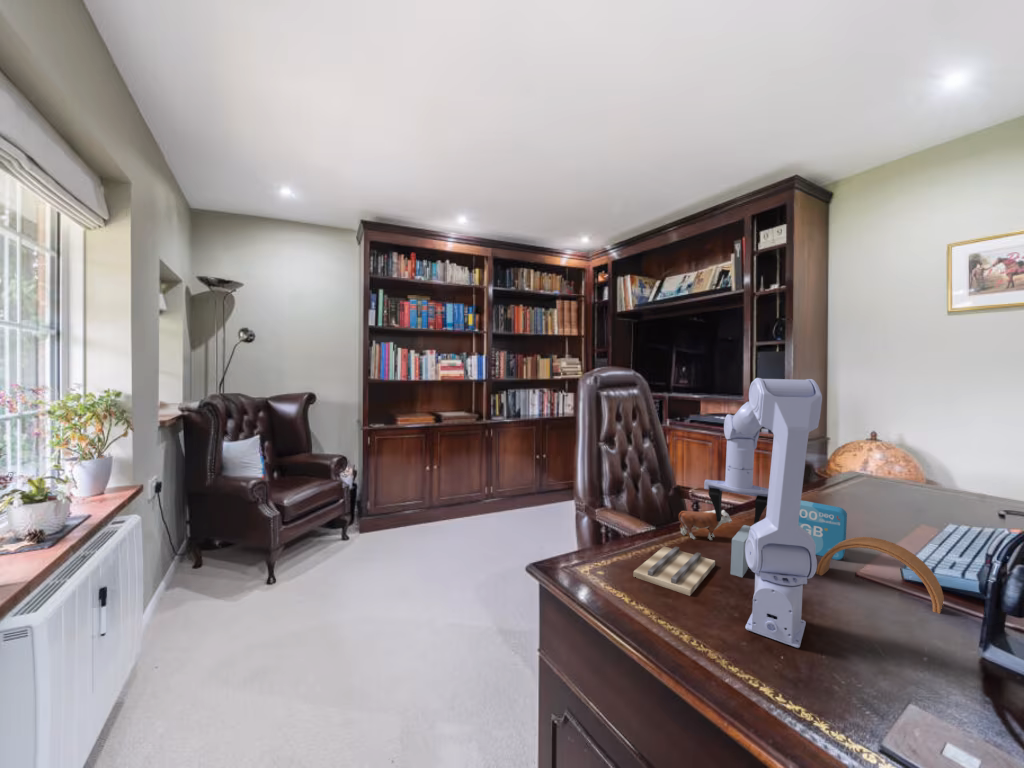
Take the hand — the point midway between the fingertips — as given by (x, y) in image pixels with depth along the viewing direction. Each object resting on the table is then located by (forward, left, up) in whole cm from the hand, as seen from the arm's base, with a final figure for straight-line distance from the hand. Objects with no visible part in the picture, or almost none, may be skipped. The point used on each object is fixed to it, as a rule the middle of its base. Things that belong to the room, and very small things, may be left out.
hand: (736, 523), depth 102 cm
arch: (+8, -25, -10) cm, 28 cm away
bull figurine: (+11, +10, -10) cm, 18 cm away
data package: (+21, -14, -10) cm, 27 cm away
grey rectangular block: (-1, -2, -10) cm, 10 cm away
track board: (-14, +9, -10) cm, 19 cm away
